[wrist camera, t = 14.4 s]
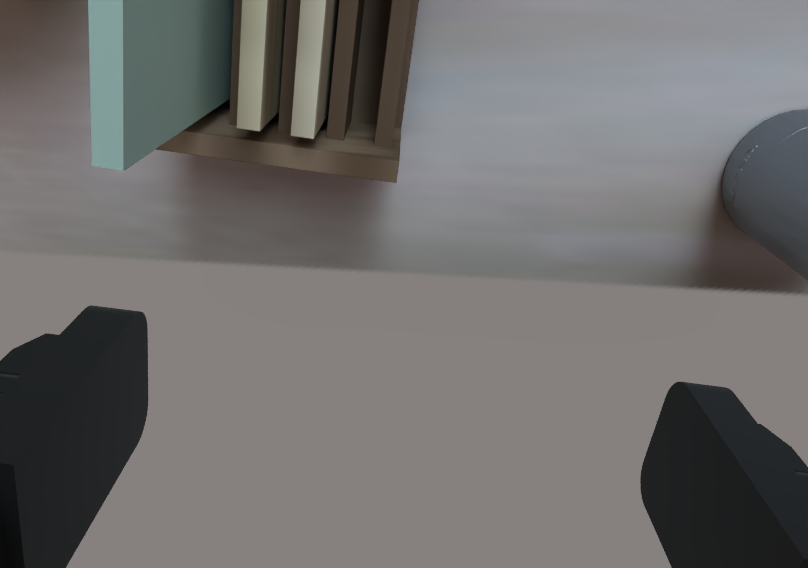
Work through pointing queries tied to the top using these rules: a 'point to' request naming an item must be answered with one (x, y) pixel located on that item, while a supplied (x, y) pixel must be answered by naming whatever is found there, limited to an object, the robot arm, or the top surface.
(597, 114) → the top surface
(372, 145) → the rack
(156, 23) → the tall sheet
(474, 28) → the top surface
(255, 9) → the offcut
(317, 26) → the board
